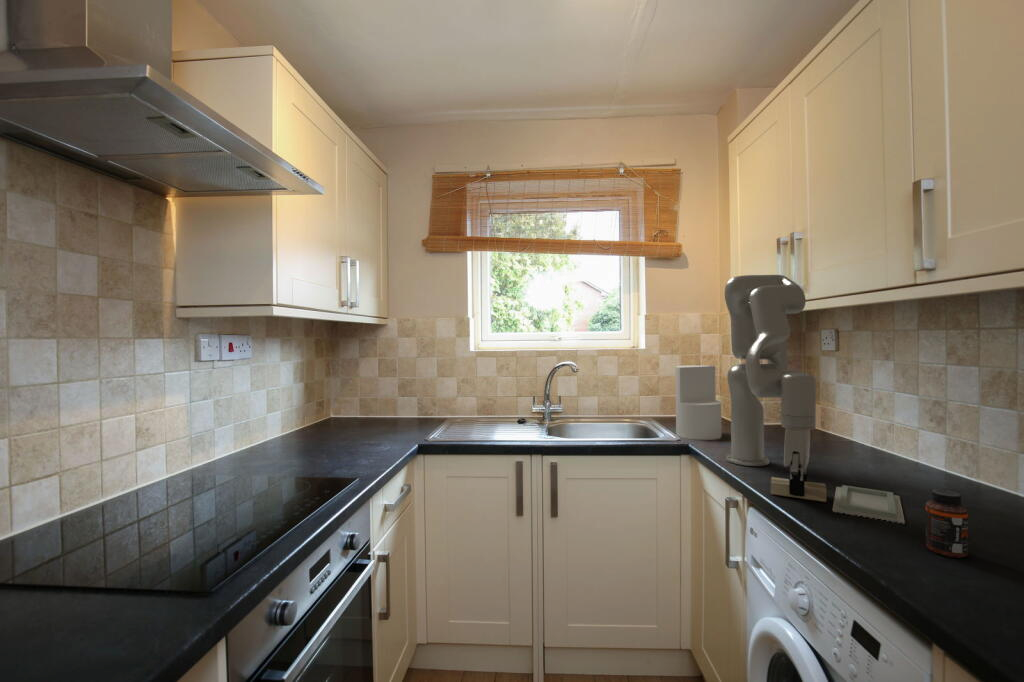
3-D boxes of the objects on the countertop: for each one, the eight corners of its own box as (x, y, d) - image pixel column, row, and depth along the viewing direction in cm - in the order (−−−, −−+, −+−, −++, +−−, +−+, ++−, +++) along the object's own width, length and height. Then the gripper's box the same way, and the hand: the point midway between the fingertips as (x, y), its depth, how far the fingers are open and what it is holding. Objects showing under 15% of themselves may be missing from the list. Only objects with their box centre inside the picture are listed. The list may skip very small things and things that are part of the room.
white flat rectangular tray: (836, 488, 127) (836, 482, 127) (899, 497, 119) (899, 491, 119) (832, 511, 111) (832, 505, 110) (904, 524, 103) (904, 517, 103)
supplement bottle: (971, 562, 86) (970, 500, 86) (927, 553, 89) (926, 493, 89) (965, 550, 90) (965, 491, 90) (924, 542, 94) (923, 485, 94)
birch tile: (771, 488, 127) (771, 477, 127) (825, 495, 121) (825, 484, 121) (770, 493, 123) (770, 482, 123) (826, 501, 116) (826, 489, 116)
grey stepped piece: (667, 432, 200) (666, 366, 199) (701, 429, 205) (701, 364, 204) (694, 441, 183) (694, 369, 183) (731, 437, 188) (730, 367, 188)
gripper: (785, 415, 130) (785, 480, 131) (776, 425, 117) (776, 499, 117) (818, 417, 126) (818, 485, 126) (812, 429, 112) (812, 505, 113)
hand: (798, 491), depth 122 cm, fingers closed on birch tile, 5 cm apart
